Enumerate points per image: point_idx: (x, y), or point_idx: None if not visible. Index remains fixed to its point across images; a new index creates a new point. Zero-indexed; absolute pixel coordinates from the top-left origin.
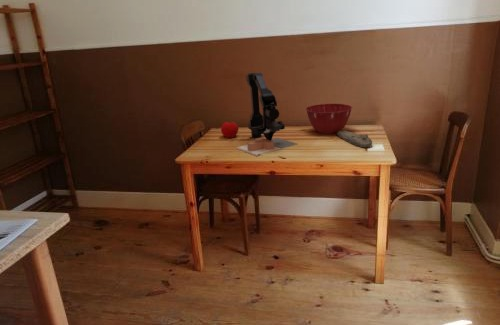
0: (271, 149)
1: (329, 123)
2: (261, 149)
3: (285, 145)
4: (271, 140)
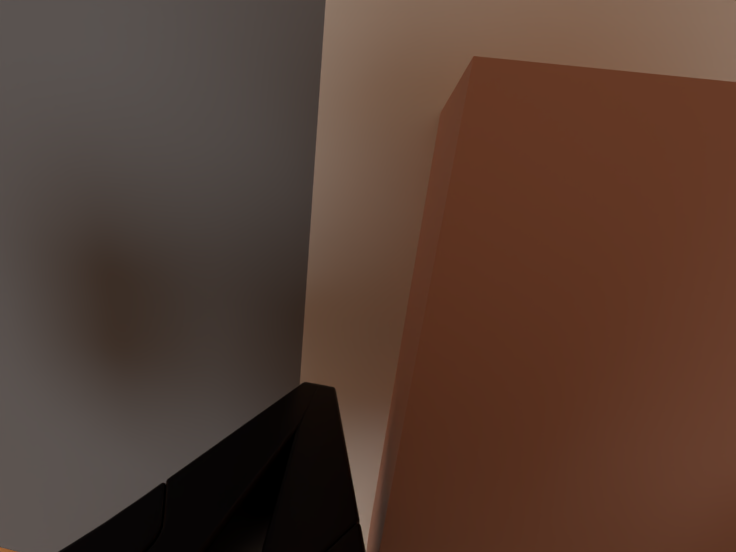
0: None
1: None
2: None
3: (55, 76)
4: None
